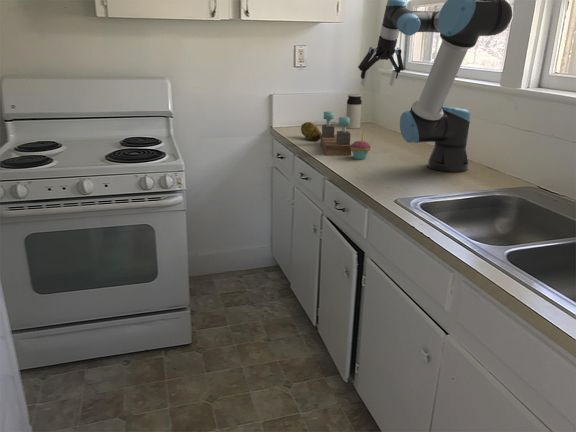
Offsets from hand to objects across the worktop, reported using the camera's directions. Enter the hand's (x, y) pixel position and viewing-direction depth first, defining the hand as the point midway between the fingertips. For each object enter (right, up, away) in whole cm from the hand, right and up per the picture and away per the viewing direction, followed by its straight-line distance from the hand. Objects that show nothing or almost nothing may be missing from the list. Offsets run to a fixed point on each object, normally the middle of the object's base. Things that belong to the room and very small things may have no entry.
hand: (377, 85), depth 210 cm
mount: (-18, -27, +7) cm, 33 cm away
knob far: (-20, -17, +12) cm, 29 cm away
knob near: (-15, -23, -2) cm, 27 cm away
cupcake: (-9, -33, -9) cm, 36 cm away
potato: (-28, -20, +27) cm, 43 cm away
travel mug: (-3, -8, +59) cm, 59 cm away
